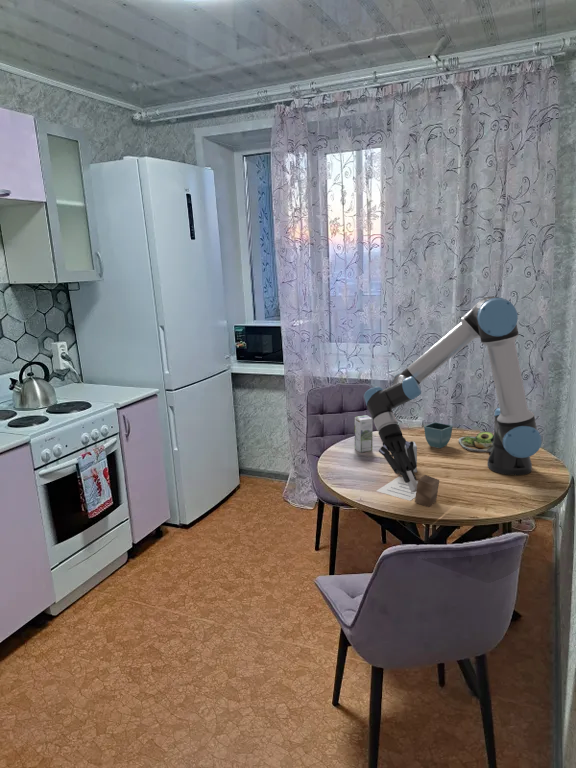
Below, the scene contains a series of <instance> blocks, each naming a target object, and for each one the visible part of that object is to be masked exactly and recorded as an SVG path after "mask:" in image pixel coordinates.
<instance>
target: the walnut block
mask: <svg viewBox="0 0 576 768" xmlns="http://www.w3.org/2000/svg"><path fill="white" fill-rule="evenodd" d="M417 481H418V484H417V490H416V497H415V498H414V503H415V504H419V505H421V506H425V507H426V508H427V507H428V508H430V507H432V505H434V504H435V503H436V502H437V498H438V490H439V485H440V479H437V478H435V477H432V476H429V475H427V474H424V475H423V476H422V477H420V478H419V479H417Z"/></svg>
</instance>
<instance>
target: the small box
mask: <svg viewBox="0 0 576 768" xmlns="http://www.w3.org/2000/svg"><path fill="white" fill-rule="evenodd" d="M412 442H413V443H414V444H413V450H414V455H415V460H416V465H417V466H418V453H417V452H418V446H417V444H416V442H415V441H412ZM405 450H406V454H407V448H406V445H405ZM407 456H408V454H407ZM406 472H407V471H406ZM413 472H414V473H417V472H418V467H416V468H415V469H414V470H413Z"/></svg>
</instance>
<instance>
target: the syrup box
mask: <svg viewBox="0 0 576 768" xmlns="http://www.w3.org/2000/svg"><path fill="white" fill-rule="evenodd" d="M373 424H374V421H373V419H372V417H371V416H369V415H365V414H364V415H359V416H354V450H356V451H357V452H359V453H361V454H362V453H367V452H372V451H373V430H374V429H373V428H374V427H373Z"/></svg>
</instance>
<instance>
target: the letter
mask: <svg viewBox="0 0 576 768" xmlns="http://www.w3.org/2000/svg"><path fill="white" fill-rule="evenodd" d="M415 481H416V483H417V484H418V480H417V479H416V480H415ZM376 492H378V493H381V494H384V495H388V496H391V497H395V498H398V499H402V500H405V501H410V502H411V501H413V499H414V500H415V497H416V492H413V493H411V490H410V488H409V486H408V483H405V481H404V479H403V477H402V476H401V475H399V476H398V477H395V478H394V479H393V480H391V481H389V482H388V483H386V484H385V485H383V486H382V487H380V488H378V489H376Z"/></svg>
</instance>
